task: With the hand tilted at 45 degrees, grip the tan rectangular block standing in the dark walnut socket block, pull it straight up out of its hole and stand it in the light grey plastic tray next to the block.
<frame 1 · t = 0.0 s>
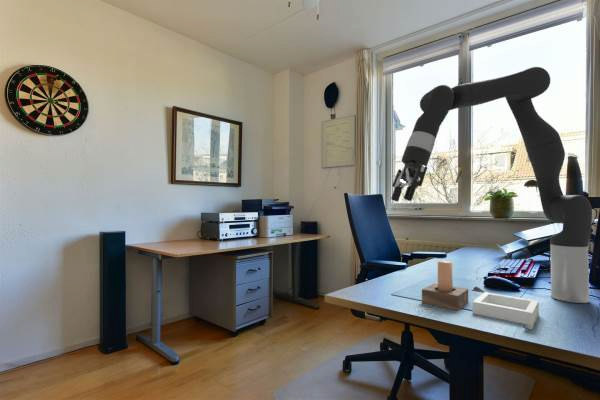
hand: (400, 200, 93), 31 cm above the table, tool tilted 20°, fingers open, 8 cm apart
tray: (506, 316, 85), on the table
socket block: (445, 306, 93), on the table
bracket: (462, 296, 107), on the table
tan rectangular block: (445, 302, 93), point 1 cm above the table, touching socket block
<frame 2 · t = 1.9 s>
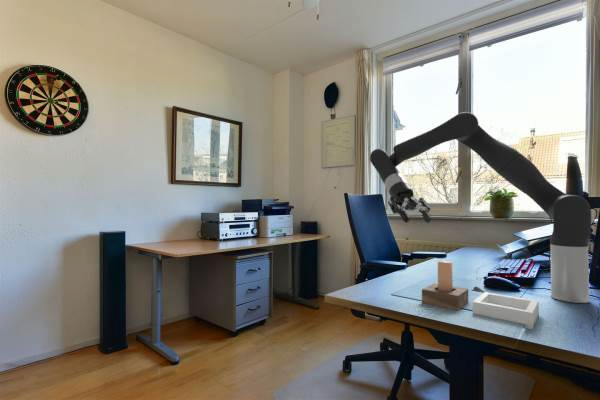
hand: (418, 221, 105), 25 cm above the table, tool tilted 45°, fingers open, 8 cm apart
nothing on the table moved.
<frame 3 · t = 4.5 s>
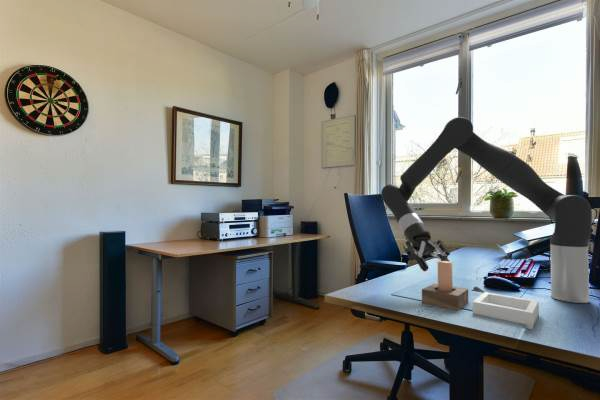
hand: (438, 269, 96), 10 cm above the table, tool tilted 45°, fingers open, 8 cm apart
nothing on the table moved.
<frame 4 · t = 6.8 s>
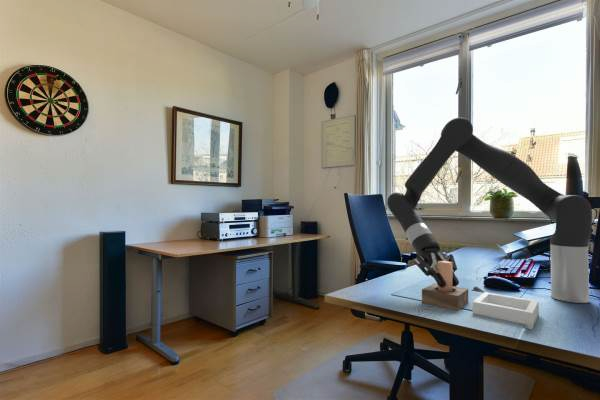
hand: (450, 285, 92), 7 cm above the table, tool tilted 45°, fingers closed on tan rectangular block, 4 cm apart
tan rectangular block: (445, 302, 93), point 1 cm above the table, touching gripper, socket block
everything else where it was.
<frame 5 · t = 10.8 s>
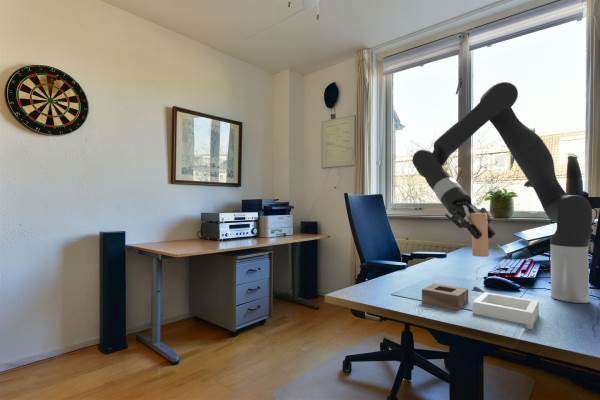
hand: (485, 236, 87), 21 cm above the table, tool tilted 45°, fingers closed on tan rectangular block, 4 cm apart
tan rectangular block: (480, 255, 89), point 16 cm above the table, touching gripper
everything else where it was.
when the fingers open (8 cm above the table, at t = 14.7 s): tan rectangular block drops 1 cm, resting on tray.
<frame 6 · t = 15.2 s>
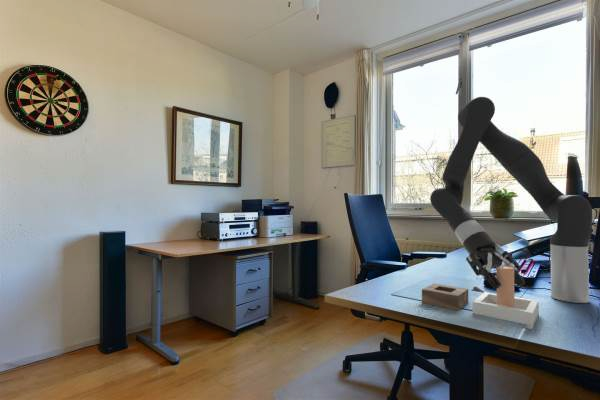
hand: (510, 286, 84), 8 cm above the table, tool tilted 45°, fingers open, 8 cm apart
tan rectangular block: (505, 312, 85), point 1 cm above the table, touching tray
everything else where it was.
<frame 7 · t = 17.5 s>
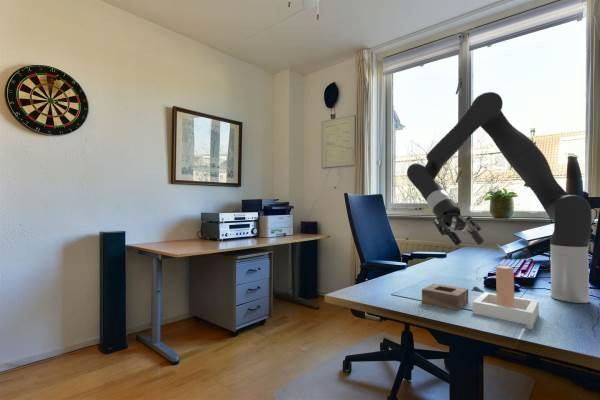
hand: (470, 243, 96), 18 cm above the table, tool tilted 45°, fingers open, 8 cm apart
nothing on the table moved.
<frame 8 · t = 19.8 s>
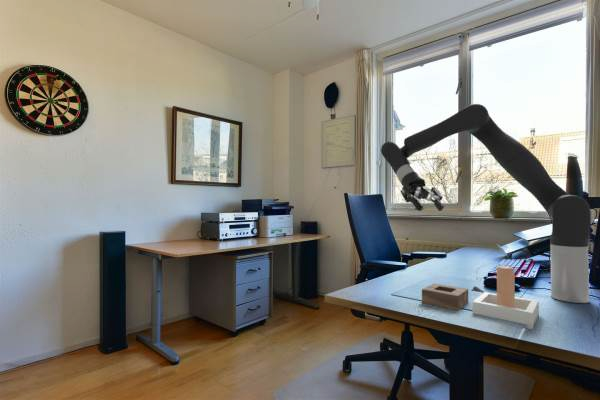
hand: (431, 209, 108), 29 cm above the table, tool tilted 45°, fingers open, 8 cm apart
nothing on the table moved.
at the end: tan rectangular block inside the target area on the tray (0.1 cm from its centre), point 1.0 cm above the tray's base; the gripper is holding nothing; tan rectangular block moved 15.1 cm from its start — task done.
